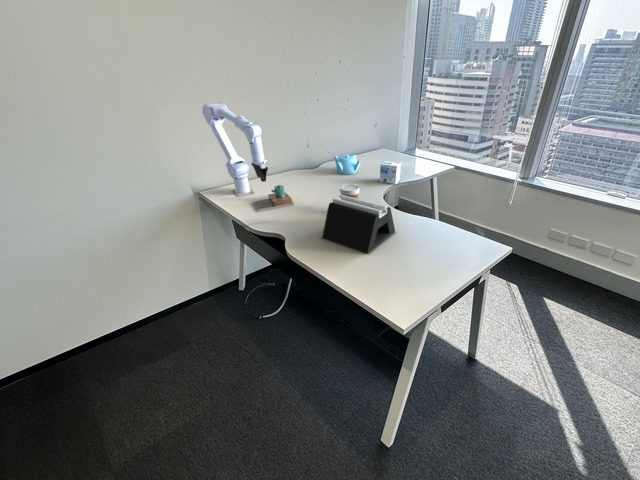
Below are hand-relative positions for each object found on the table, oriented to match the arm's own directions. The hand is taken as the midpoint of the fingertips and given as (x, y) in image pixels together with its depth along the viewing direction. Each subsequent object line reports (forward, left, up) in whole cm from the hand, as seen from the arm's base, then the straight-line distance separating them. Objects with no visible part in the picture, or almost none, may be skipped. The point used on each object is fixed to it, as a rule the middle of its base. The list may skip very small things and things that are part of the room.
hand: (261, 179), depth 167 cm
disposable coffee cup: (+36, +32, -11) cm, 49 cm away
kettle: (+8, +6, -7) cm, 13 cm away
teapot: (-20, +59, -11) cm, 63 cm away
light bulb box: (+8, +74, -11) cm, 75 cm away
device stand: (+60, +24, -11) cm, 65 cm away
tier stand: (+9, +1, -10) cm, 14 cm away
